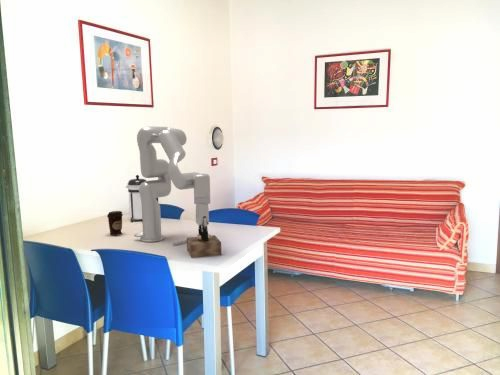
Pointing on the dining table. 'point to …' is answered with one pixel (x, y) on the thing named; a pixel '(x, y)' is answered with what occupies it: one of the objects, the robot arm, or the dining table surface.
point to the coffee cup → (115, 222)
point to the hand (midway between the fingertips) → (203, 237)
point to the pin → (200, 237)
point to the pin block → (203, 247)
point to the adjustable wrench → (182, 242)
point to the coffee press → (135, 198)
